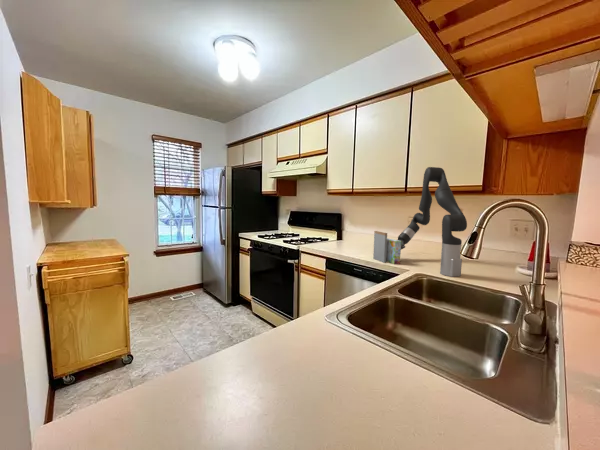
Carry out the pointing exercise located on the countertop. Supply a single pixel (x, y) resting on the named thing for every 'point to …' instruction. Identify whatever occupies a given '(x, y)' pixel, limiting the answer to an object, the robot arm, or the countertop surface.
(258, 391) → the countertop surface
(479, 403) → the countertop surface
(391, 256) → the snack box
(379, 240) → the board
